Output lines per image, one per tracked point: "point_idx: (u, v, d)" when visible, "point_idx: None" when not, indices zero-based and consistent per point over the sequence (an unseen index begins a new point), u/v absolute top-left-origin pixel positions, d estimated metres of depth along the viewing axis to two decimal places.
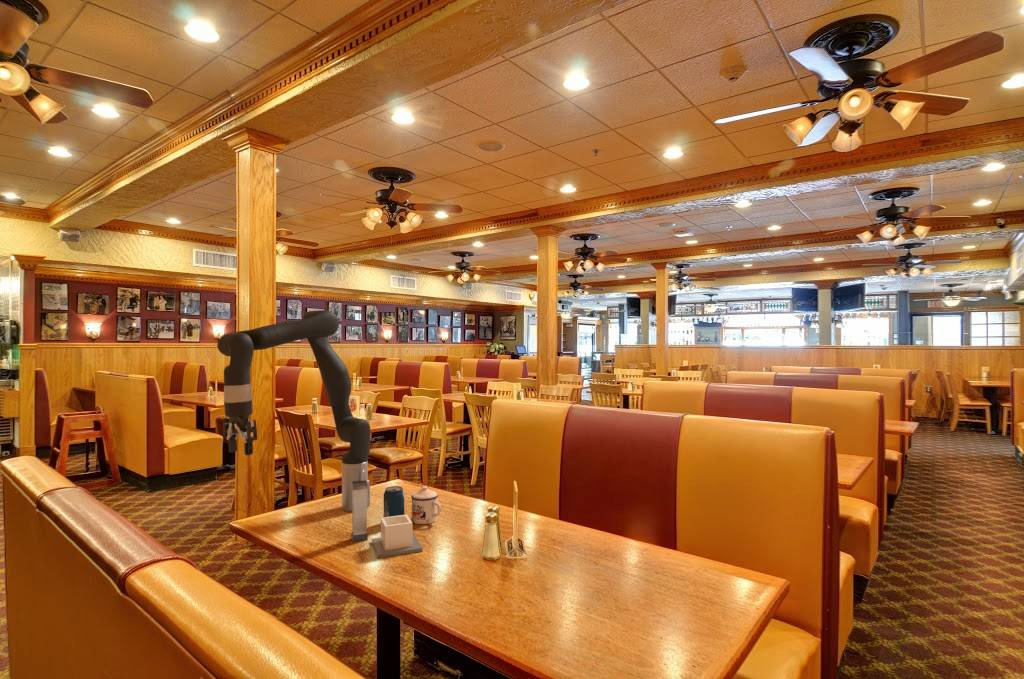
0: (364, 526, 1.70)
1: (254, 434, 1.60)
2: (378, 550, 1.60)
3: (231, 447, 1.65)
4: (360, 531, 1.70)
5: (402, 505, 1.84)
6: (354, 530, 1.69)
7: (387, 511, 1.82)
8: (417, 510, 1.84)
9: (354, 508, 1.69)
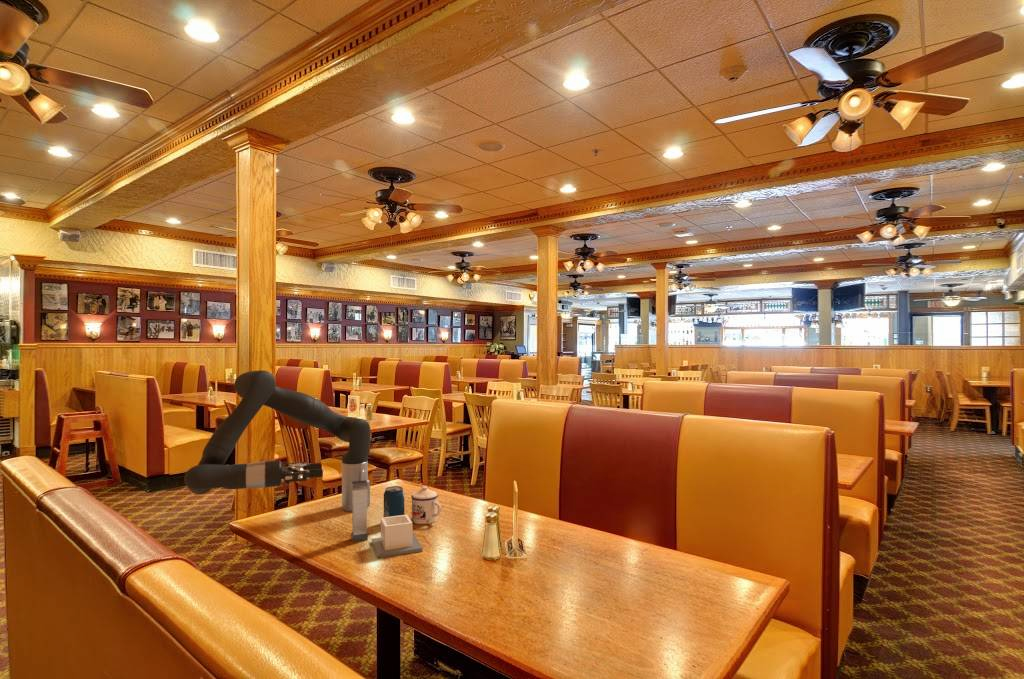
0: (364, 526, 1.70)
1: None
2: (378, 550, 1.60)
3: (316, 469, 1.70)
4: (360, 531, 1.70)
5: (402, 505, 1.84)
6: (354, 530, 1.69)
7: (387, 511, 1.82)
8: (417, 510, 1.84)
9: (354, 508, 1.69)
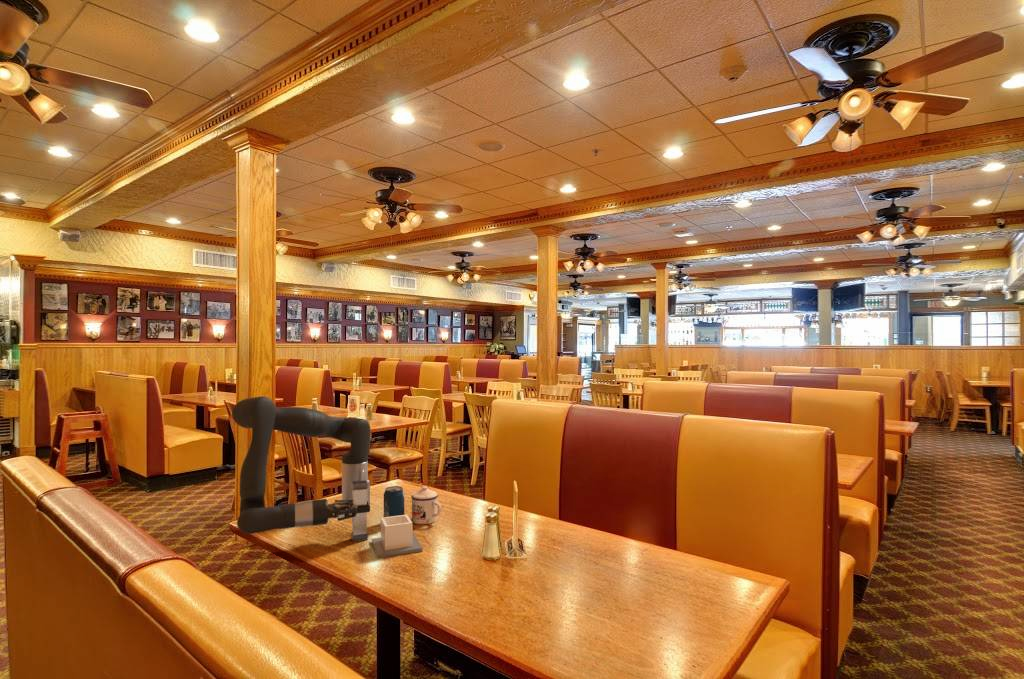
0: (364, 526, 1.70)
1: None
2: (378, 550, 1.60)
3: None
4: (360, 531, 1.70)
5: (402, 505, 1.84)
6: (354, 530, 1.69)
7: (387, 511, 1.82)
8: (417, 510, 1.84)
9: None
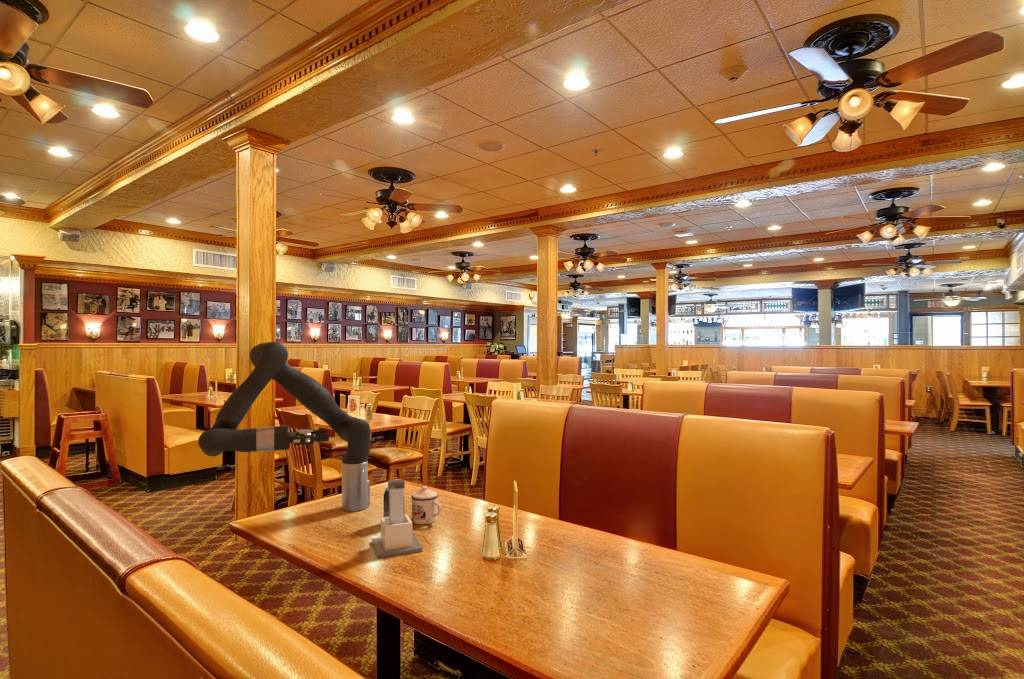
0: None
1: None
2: (378, 550, 1.60)
3: None
4: None
5: None
6: None
7: (387, 511, 1.82)
8: (417, 510, 1.84)
9: (391, 508, 1.63)
